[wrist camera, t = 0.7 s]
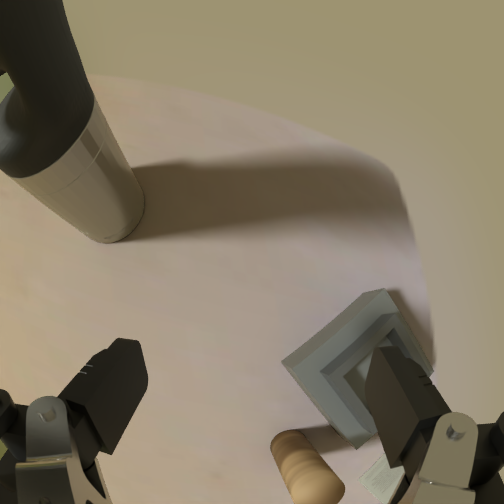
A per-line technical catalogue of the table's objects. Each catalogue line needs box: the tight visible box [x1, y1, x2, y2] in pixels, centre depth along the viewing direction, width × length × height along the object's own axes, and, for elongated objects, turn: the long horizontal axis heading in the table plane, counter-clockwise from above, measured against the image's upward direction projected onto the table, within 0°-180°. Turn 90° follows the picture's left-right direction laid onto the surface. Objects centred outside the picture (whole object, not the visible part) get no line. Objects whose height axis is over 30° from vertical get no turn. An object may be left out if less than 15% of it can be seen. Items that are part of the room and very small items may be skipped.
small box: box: [358, 453, 405, 504], centre depth 20 cm, size 8×6×13 cm
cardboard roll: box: [270, 430, 345, 504], centre depth 21 cm, size 4×4×12 cm
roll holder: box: [281, 288, 434, 450], centre depth 27 cm, size 13×13×8 cm
